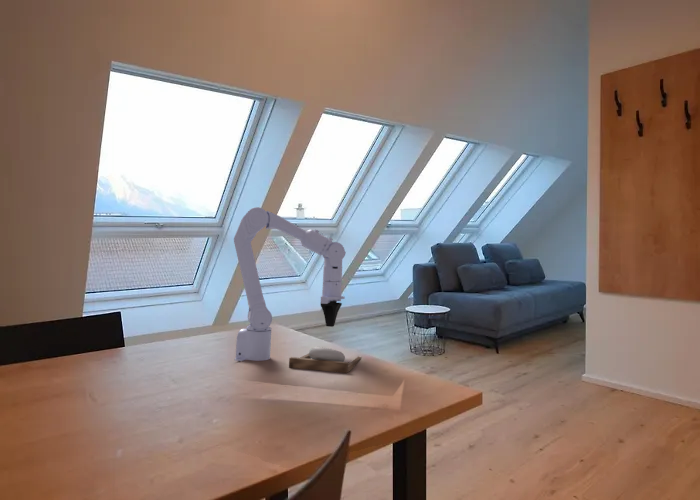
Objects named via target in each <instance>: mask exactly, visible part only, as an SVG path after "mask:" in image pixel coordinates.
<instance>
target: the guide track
mask: <svg viewBox="0 0 700 500" xmlns="http://www.w3.org/2000/svg"><path fill="white" fill-rule="evenodd" d="M362 358H363V357H362V356H357V357H356V358H354V359H353V360H351V361H350V362H348V361H347V362H345V361H344V362H339V361H328V360H318V359H312V358H310V356H309V353H307V354H305V355H302V356H301V357H295V356H290V357H289V360H288V361H289V362H288V368H291V369H292V368H293V369H299V370H300V369H302V370H311V371H320V372H321V371H322V372H330V373H331V372H332V373H333V372H334V373H342V374H348V373H349V372H350V371H351V370H353V369H354V368H355V366H356V365H357V364H358V363H359V362H360V360H361V359H362Z"/></svg>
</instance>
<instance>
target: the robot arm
mask: <svg viewBox="0 0 700 500" xmlns="http://www.w3.org/2000/svg"><path fill="white" fill-rule="evenodd" d="M264 228H265V230H278V231H280V232H282V233H285V234H287V235H289V236H290V237H293V238H294V239H297V240H299V241H300V243H301V246H302V247H303V248H305V249H307V250H309V251H311V252H313V253H315V254H316V255H319V256H322V257H323V259H324V261H323V262H324V263H323V273H322V289H321V290H322V293H321V296H320V308H321V309H322V312H323V315H324V322H325V326H326V327H331V328H333V327H335V323H336V321H337V316H338V312H339V311H340V309H341V307H342V304H343V303H342V300H346V297H345V296H342V285H343V283H342V282H343V281H342V280H343V259H344V258H345V256H346V252H347V251H345V247H344V245H343V244H342V243H340V242H338V241H333V238H332V237H327V236H324V235H323V234H321V233H319V232H320V231H319V230H318V229H314V230H313V229H308V230H304V229H302V228H301V227H299V226H297V225H296V224H294V223H292V222H290V221H289V220H287V219H286V218H284V217H281V216H280V215H278V214H276V213H274V212H271V211H269V210H265V209H264V208H262V207H260V206H259V207H257V206H255V207H252V208H250V209H249V210H248V211H247V212H246V213H245V215H244V216H243V217H242V219H241V221H240V223H239V225H238V227H237V230H236V232H235V235H234V237H233V244H234V249H235V253H236V257H237V259H238V260H237V262H238V266H239V269H240V274H241V277H242V282H243V286H244V291H245V293H246V294H245V295H246V300H247V306H248V312H247V320H248V322H249V324H248V325H247V326H246V328H241V329H240V330H239V331H238V332H237V334H236V344H235V345H236V349H235V358H234V361H237V362H243V361H246V360H248V361H257V362H258V361H267V360H270V359H271V350H272V349H271V347H272V327H270V326H271V324H272V322H273V315H272V313H271V311H270V310H269V309H268V307H267V305H266V301H265V298H264V294H263V291H262V286H261V281H260V277H259V272H258V268H257V264H256V260H255V255H254V251H253V248H252V241H253V240H254V238H255V237H256V235H257V234H258V233H259V232H260V231H261V230H262V229H264Z"/></svg>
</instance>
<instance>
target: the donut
mask: <svg viewBox="0 0 700 500" xmlns="http://www.w3.org/2000/svg"><path fill="white" fill-rule="evenodd" d="M308 354H309V356H310V358H309V359H318V360H328V361H339V362H345V361H346V357H345V355H344V353H343V352H342V351H339V350H336V349H332V348H329V347H323V346H322V347H321V346H314V347H311V349H310V350H309V351H308Z"/></svg>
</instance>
